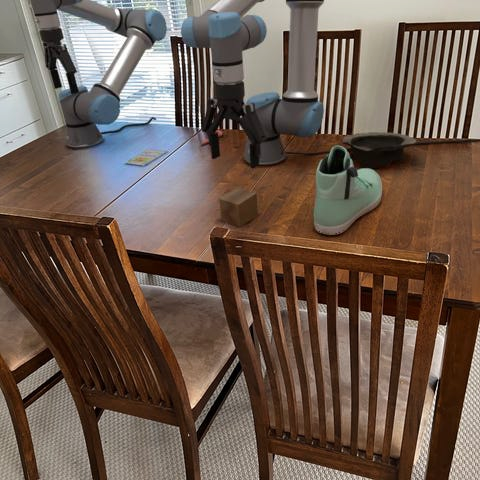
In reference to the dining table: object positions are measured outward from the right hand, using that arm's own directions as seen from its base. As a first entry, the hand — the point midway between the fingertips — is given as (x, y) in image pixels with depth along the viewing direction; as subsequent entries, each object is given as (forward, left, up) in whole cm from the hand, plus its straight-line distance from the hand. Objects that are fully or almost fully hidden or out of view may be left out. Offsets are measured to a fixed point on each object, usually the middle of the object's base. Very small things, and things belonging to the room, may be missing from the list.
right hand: (234, 162), depth 130 cm
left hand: (+35, -77, +9) cm, 85 cm away
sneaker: (-30, +10, -17) cm, 36 cm away
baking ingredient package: (+13, -62, -17) cm, 66 cm away
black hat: (-59, -16, -17) cm, 63 cm away
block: (0, 0, -17) cm, 17 cm away
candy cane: (-15, -68, -17) cm, 72 cm away
